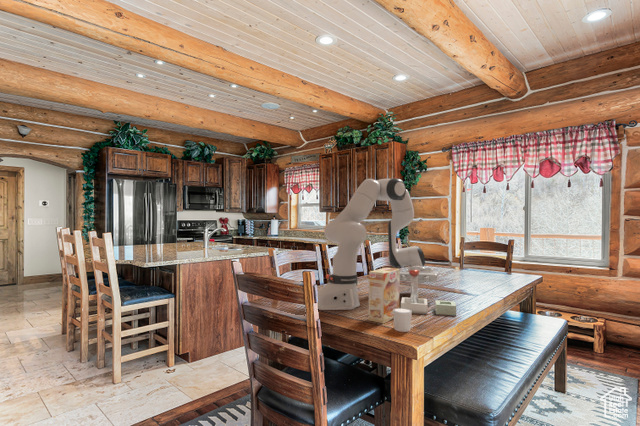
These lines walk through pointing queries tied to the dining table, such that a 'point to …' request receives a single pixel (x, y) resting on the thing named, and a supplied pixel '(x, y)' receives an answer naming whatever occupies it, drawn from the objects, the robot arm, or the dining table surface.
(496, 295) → the dining table surface
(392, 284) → the coffeecake box
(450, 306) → the socket block
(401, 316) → the shot glass
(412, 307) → the tray
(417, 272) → the pin
